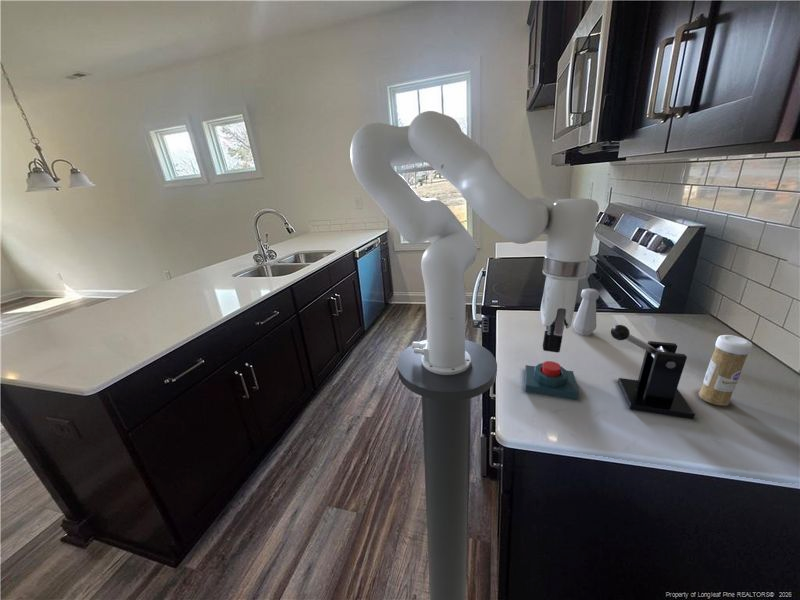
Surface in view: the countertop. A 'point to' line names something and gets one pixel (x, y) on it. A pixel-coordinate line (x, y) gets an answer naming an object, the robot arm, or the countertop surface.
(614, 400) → the countertop surface
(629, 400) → the switch bracket
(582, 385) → the countertop surface
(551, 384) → the stop block
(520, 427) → the countertop surface
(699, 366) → the countertop surface
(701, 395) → the sprinkles bottle
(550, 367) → the stop button
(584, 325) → the salt shaker
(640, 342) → the switch lever
